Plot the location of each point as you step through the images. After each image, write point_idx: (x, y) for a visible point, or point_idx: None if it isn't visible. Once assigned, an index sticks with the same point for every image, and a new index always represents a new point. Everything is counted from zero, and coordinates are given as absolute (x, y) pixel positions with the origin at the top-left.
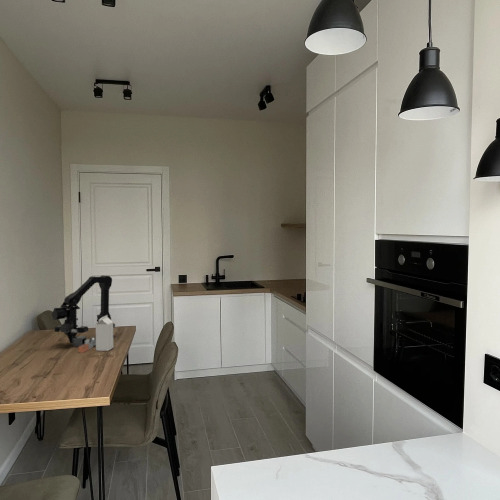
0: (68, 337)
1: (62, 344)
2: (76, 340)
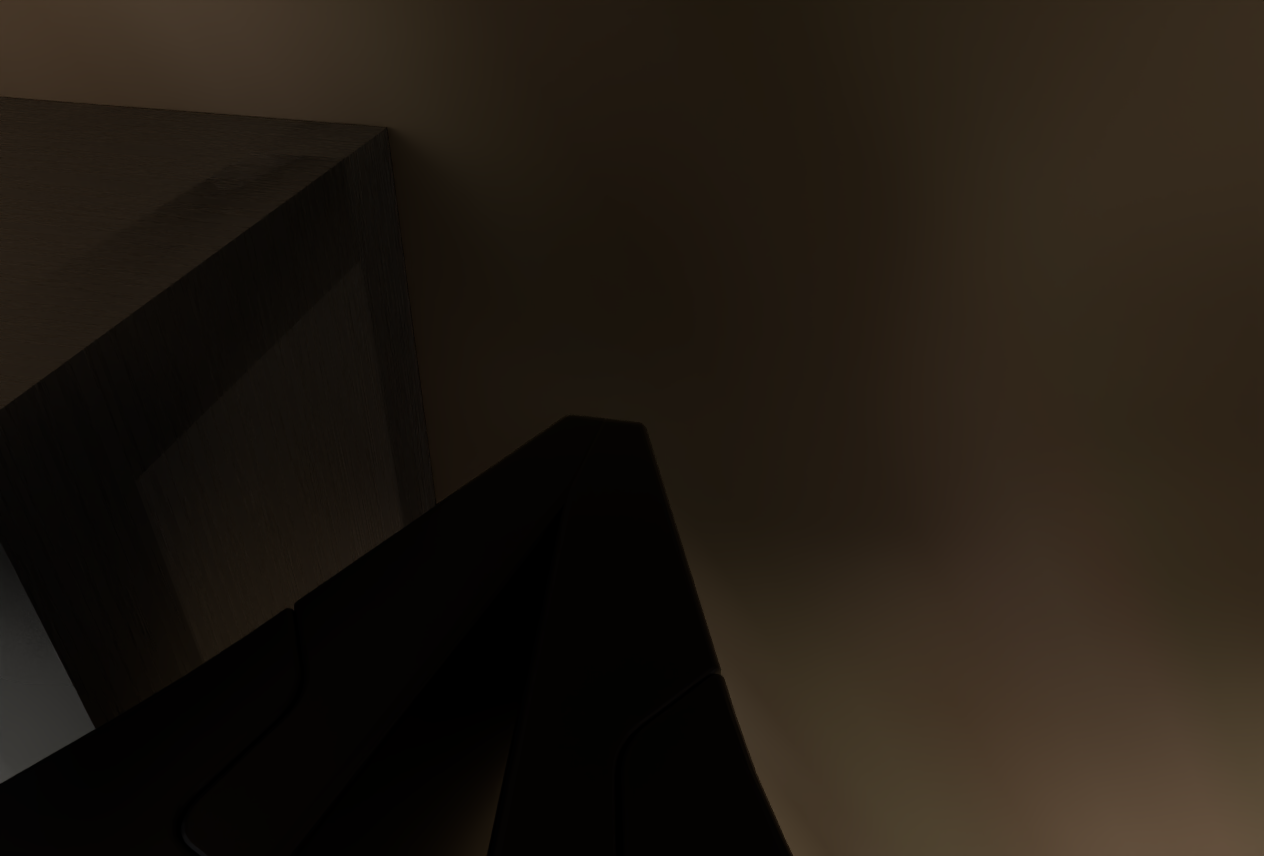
0: (678, 731)
1: (1247, 547)
2: None
